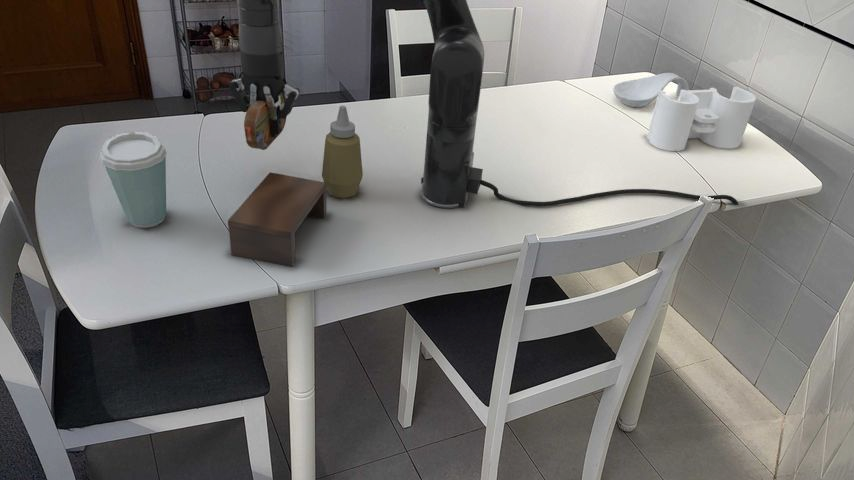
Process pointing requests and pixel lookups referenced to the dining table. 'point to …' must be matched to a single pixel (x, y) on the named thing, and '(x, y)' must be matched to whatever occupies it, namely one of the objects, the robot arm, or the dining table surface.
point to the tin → (260, 124)
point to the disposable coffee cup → (137, 176)
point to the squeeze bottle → (342, 157)
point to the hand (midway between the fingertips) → (267, 134)
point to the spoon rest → (646, 89)
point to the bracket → (700, 118)
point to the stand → (275, 217)
